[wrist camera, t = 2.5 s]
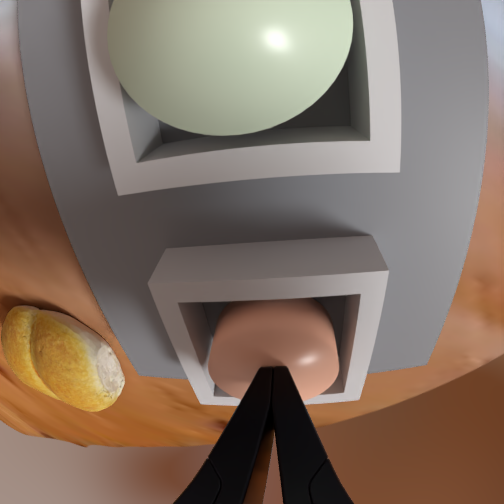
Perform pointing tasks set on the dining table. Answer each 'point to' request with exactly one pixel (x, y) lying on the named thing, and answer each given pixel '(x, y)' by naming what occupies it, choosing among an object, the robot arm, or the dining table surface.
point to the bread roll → (61, 358)
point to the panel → (271, 191)
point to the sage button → (228, 59)
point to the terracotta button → (274, 344)
